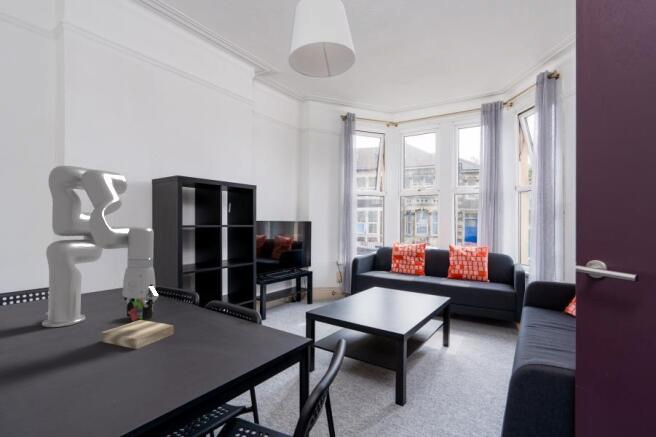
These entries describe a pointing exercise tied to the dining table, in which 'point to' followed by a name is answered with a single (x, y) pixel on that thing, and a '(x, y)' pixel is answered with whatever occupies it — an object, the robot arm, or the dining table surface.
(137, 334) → the birch platform
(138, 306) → the geometric puzzle
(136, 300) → the potato
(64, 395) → the dining table surface
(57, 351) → the dining table surface
